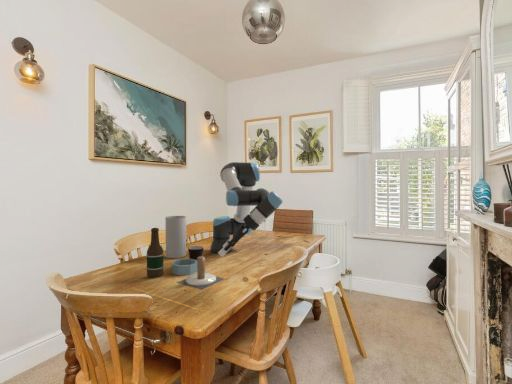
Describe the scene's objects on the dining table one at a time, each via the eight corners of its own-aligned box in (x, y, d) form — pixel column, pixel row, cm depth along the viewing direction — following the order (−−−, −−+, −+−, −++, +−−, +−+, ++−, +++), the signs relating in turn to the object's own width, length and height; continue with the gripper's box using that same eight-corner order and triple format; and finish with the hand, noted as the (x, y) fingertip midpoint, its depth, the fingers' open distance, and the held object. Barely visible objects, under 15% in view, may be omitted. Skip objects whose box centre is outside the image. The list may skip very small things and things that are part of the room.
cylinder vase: (174, 252, 182) (174, 215, 181) (190, 254, 177) (190, 216, 176) (161, 257, 170) (161, 217, 169) (177, 259, 165) (177, 218, 165)
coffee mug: (200, 267, 149) (200, 249, 149) (185, 266, 151) (185, 249, 151) (208, 262, 161) (207, 245, 160) (194, 261, 162) (194, 244, 162)
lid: (200, 273, 138) (200, 252, 138) (222, 279, 131) (222, 256, 130) (179, 282, 126) (179, 258, 126) (201, 288, 119) (201, 263, 119)
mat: (200, 273, 140) (200, 272, 140) (225, 279, 131) (225, 278, 131) (176, 283, 126) (176, 282, 126) (201, 290, 118) (201, 289, 118)
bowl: (185, 266, 151) (185, 257, 151) (202, 270, 145) (202, 261, 145) (167, 272, 141) (167, 263, 140) (184, 277, 134) (184, 267, 134)
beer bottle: (146, 275, 137) (146, 227, 137) (162, 273, 140) (162, 226, 140) (147, 280, 130) (146, 229, 130) (164, 277, 133) (163, 228, 133)
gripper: (259, 229, 114) (224, 264, 115) (260, 221, 139) (231, 250, 140) (247, 216, 114) (211, 252, 115) (250, 211, 139) (220, 240, 140)
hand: (222, 251), depth 128 cm, fingers open, 13 cm apart
